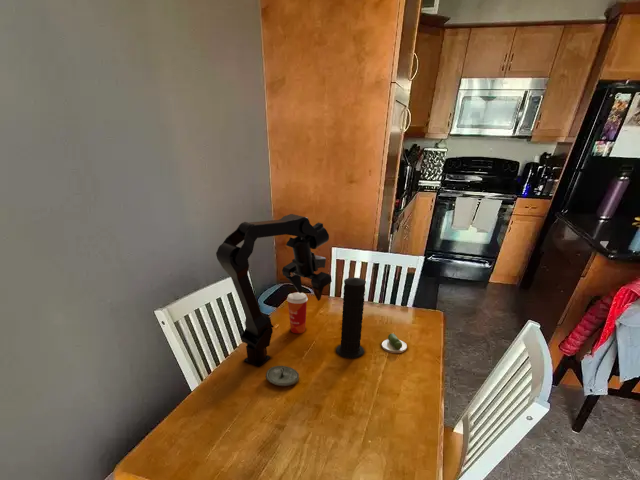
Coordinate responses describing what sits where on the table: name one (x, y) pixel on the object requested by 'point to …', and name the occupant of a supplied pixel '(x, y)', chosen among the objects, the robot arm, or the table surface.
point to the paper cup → (297, 311)
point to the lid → (282, 376)
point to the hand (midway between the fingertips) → (309, 296)
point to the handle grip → (352, 318)
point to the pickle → (394, 344)
